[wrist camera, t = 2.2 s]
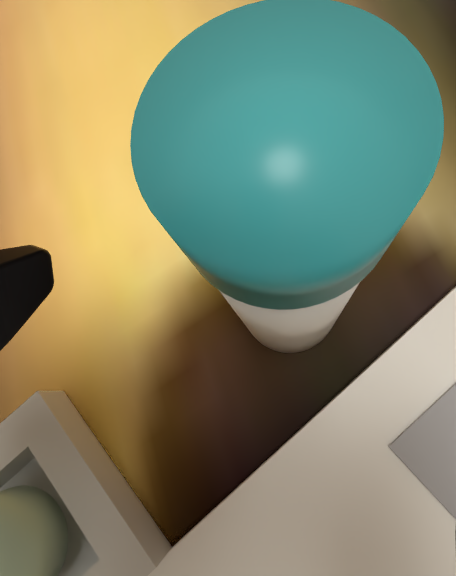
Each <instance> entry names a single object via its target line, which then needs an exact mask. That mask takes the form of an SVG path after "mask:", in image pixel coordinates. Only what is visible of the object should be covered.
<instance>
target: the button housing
mask: <svg viewBox="0 0 456 576" xmlns="http://www.w3.org/2000/svg"><path fill="white" fill-rule="evenodd" d="M21 485H27V486H33V487H37V488H39V489H42V490H43V491H45V492H47V493H48V494H49V495H51V496H52V497H53V498H54V500H55V501H56V502H57V503H58V505H59V506H60V508H61V510H62V512H63V514H64V517H65V520H66V523H67V529H68V549H67V554H66V558H65V561H64V564H63V567H62V569H61V571H60V573H59V575H58V576H148V575H149V574H150V573H151V572H152V571H153V570H154V569H155V568H156V567H157V566H158V565H159V563H160V562H161V561H162V560H163V558H164V557H165V556H166V554H167V553H168V552H169V551H170V549H171V548H172V546H171V545H170V543H169V542H168V540H167V539H166V537H165V536H164V535H163V533H162V532H161V530H160V529H159V527H158V526H157V524H156V523H155V522H154V520H153V519H152V517H151V516H150V514H149V513H148V512H147V510H146V509H145V507H144V506H143V504H142V503H141V501H140V500H139V499H138V497H137V496H136V494H135V493H134V491H133V490H132V488H131V487H130V486H129V484H128V483H127V481H126V480H125V478H124V477H123V476H122V474H121V473H120V471H119V470H118V468H117V467H116V465H115V464H114V463H113V461H112V460H111V458H110V457H109V455H108V454H107V452H106V451H105V450H104V448H103V447H102V445H101V444H100V442H99V441H98V440H97V438H96V437H95V435H94V434H93V432H92V431H91V429H90V428H89V427H88V425H87V424H86V422H85V421H84V419H83V418H82V416H81V415H80V414H79V412H78V411H77V409H76V408H75V406H74V405H73V404H72V402H71V401H70V399H69V398H68V396H67V395H66V393H65V392H64V391H37V392H35V393H34V394H33V395H32V396H31V397H30V398H29V399H27V400H26V401H25V402H24V403H23V404H22V405H21V406H20V407H18V408H17V409H16V410H15V411H14V412H13V413H12V414H10V415H9V416H8V417H7V418H6V419H5V420H4V421H3V422H1V423H0V491H2V490H5V489H8V488H11V487H15V486H21Z"/></svg>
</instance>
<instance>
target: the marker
mask: <svg viewBox="0 0 456 576" xmlns="http://www.w3.org/2000/svg"><path fill="white" fill-rule="evenodd" d="M443 133H444V116H443V108H442V101H441V97H440V94H439V90H438V87H437V84H436V81H435V79H434V77H433V75H432V73H431V71H430V68H429V66H428V65H427V63H426V62H425V60H424V59H423V57H422V56H421V54H420V53H419V52H418V50H417V49H416V48H415V47H414V46H413V45H412V44H411V43H410V41H409V40H408V39H407V38H406V37H405V36H404V35H402V34H401V33H400V32H399V31H397V30H396V29H395V28H394V27H393V26H391V25H390V24H388V23H387V22H385V21H383V20H382V19H380V18H378V17H377V16H375V15H373V14H371V13H368V12H366V11H364V10H362V9H360V8H357V7H354V6H351V5H348V4H344V3H341V2H336V1H331V0H264V1H260V2H256V3H252V4H248V5H245V6H242V7H239V8H236V9H233V10H231V11H228V12H226V13H224V14H222V15H220V16H218V17H215V18H213V19H212V20H210V21H208V22H207V23H205V24H203V25H202V26H200V27H198V28H197V29H195V30H194V31H193V32H192V33H190V34H189V35H188V36H186V37H185V38H184V39H182V40H181V41H180V42H179V43H178V44H177V45H176V46H175V47H174V48H173V49H172V50H171V51H170V52H169V53H168V54H167V55H166V56H165V58H164V59H163V60H162V61H161V62H160V64H159V65H158V66H157V68H156V69H155V71H154V72H153V74H152V75H151V77H150V78H149V80H148V82H147V84H146V86H145V88H144V90H143V92H142V94H141V96H140V99H139V102H138V105H137V107H136V110H135V114H134V119H133V124H132V130H131V145H130V146H131V159H132V166H133V170H134V175H135V179H136V182H137V184H138V187H139V190H140V192H141V195H142V197H143V198H144V200H145V202H146V204H147V206H148V207H149V209H150V211H151V212H152V213H153V215H154V216H155V217H156V219H157V220H158V221H159V222H160V224H161V225H162V226H163V227H164V229H165V230H166V231H167V232H168V234H169V235H170V236H171V237H172V239H173V240H174V241H175V242H176V244H177V245H178V246H179V247H180V249H181V250H182V251H183V252H184V254H185V255H186V256H187V257H188V259H189V260H190V261H191V262H192V264H193V265H194V266H195V267H196V269H197V270H198V271H199V272H200V274H201V275H202V276H203V277H204V278H205V279H206V280H207V281H208V282H209V283H210V284H211V285H213V286H214V287H216V288H217V289H218V290H219V291H220V292H221V293H222V295H223V296H224V298H225V299H226V300H227V302H228V303H229V304H230V306H231V307H232V308H233V310H234V311H235V312H236V314H237V315H238V316H239V318H240V319H241V320H242V322H243V323H244V324H245V326H246V327H247V328H248V330H249V331H250V332H251V334H252V335H253V336H254V337H255V338H256V339H257V340H258V341H259V342H260V343H261V344H262V345H264V346H266V347H267V348H269V349H272V350H274V351H277V352H282V353H298V352H302V351H306V350H308V349H310V348H312V347H314V346H316V345H317V344H318V343H320V342H321V341H322V340H323V339H324V338H325V337H326V336H327V334H328V333H329V331H330V330H331V328H332V327H333V325H334V323H335V322H336V320H337V318H338V317H339V315H340V314H341V312H342V310H343V309H344V307H345V305H346V304H347V302H348V300H349V299H350V297H351V296H352V294H353V292H354V291H355V289H356V287H357V286H358V284H359V282H360V281H362V280H363V279H364V278H365V277H366V276H367V275H368V274H369V273H370V272H371V271H372V269H373V268H374V267H375V266H376V264H377V263H378V262H379V260H380V259H381V257H382V256H383V254H384V253H385V251H386V250H387V248H388V247H389V245H390V244H391V242H392V241H393V239H394V238H395V236H396V235H397V233H398V232H399V230H400V229H401V227H402V226H403V224H404V223H405V221H406V220H407V218H408V217H409V215H410V214H411V212H412V211H413V209H414V208H415V206H416V205H417V203H418V202H419V200H420V199H421V197H422V196H423V194H424V192H425V190H426V188H427V187H428V185H429V183H430V181H431V179H432V177H433V175H434V172H435V169H436V166H437V163H438V160H439V158H440V153H441V148H442V142H443Z"/></svg>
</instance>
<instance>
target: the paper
mask: <svg viewBox="0 0 456 576" xmlns="http://www.w3.org/2000/svg"><path fill="white" fill-rule="evenodd" d="M455 529H456V286H455V287H454V288H453V289H452V290H451V291H450V292H449V293H448V294H446V295H445V296H444V297H443V298H442V299H441V300H440V301H439V302H438V303H437V304H436V305H435V306H433V307H432V308H431V309H430V310H429V311H428V312H427V313H426V314H425V315H424V316H423V317H422V318H420V319H419V320H418V321H417V322H416V323H415V324H414V325H413V326H412V327H411V328H410V329H408V330H407V331H406V332H405V333H404V334H403V335H402V336H401V337H400V338H399V339H398V340H397V341H395V342H394V343H393V344H392V345H391V346H390V347H389V348H388V349H387V350H386V351H385V352H384V353H382V354H381V355H380V356H379V357H378V358H377V359H376V360H375V361H374V362H373V363H372V364H370V365H369V366H368V367H367V368H366V369H365V370H364V371H363V372H362V373H361V374H360V375H359V376H357V377H356V378H355V379H354V380H353V381H352V382H351V383H350V384H349V385H348V386H347V387H346V388H344V389H343V390H342V391H341V392H340V393H339V394H338V395H337V396H336V397H335V398H334V399H332V400H331V401H330V402H329V403H328V404H327V405H326V406H325V407H324V408H323V409H322V410H321V411H319V412H318V413H317V414H316V415H315V416H314V417H313V418H312V419H311V420H310V421H309V422H307V423H306V424H305V425H304V426H303V427H302V428H301V429H300V430H299V431H298V432H297V433H296V434H294V435H293V436H292V437H291V438H290V439H289V440H288V441H287V442H286V443H285V444H284V445H283V446H281V447H280V448H279V449H278V450H277V451H276V452H275V453H274V454H273V455H272V456H271V457H269V458H268V459H267V460H266V461H265V462H264V463H263V464H262V465H261V466H260V467H259V468H258V469H256V470H255V471H254V472H253V473H252V474H251V475H250V476H249V477H248V478H247V479H246V480H245V481H243V482H242V483H241V484H240V485H239V486H238V487H237V488H236V489H235V490H234V491H233V492H231V493H230V494H229V495H228V496H227V497H226V498H225V499H224V500H223V501H222V502H221V503H220V504H218V505H217V506H216V507H215V508H214V509H213V510H212V511H211V512H210V513H209V514H208V515H206V516H205V517H204V518H203V519H202V520H201V521H200V522H199V523H198V524H197V525H196V526H195V527H193V528H192V529H191V530H190V531H189V532H188V533H187V534H186V535H185V536H184V537H183V538H182V539H180V540H179V541H178V542H177V543H176V544H175V545H174V546H173V547H172V548H171V549H170V551H169V552H168V553H167V554H166V556H165V557H164V558H163V560H162V561H161V562H160V563H159V565H158V566H157V567H156V568H155V569H154V570H153V571H152V572H151V573H150V574H149V575H148V576H456V541H455Z"/></svg>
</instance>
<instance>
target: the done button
mask: <svg viewBox="0 0 456 576" xmlns="http://www.w3.org/2000/svg"><path fill="white" fill-rule="evenodd" d="M67 549H68V529H67V523H66V520H65V517H64V514H63V512H62V510H61V508H60V506H59V505H58V503H57V502H56V501H55V500H54V498H53V497H52V496H51V495H49V494H48V493H47V492H45V491H43V490H42V489H39V488H37V487H33V486H27V485H21V486H15V487H11V488H8V489H5V490H2V491H0V576H58V575H59V573H60V571H61V569H62V567H63V564H64V561H65V558H66V554H67Z"/></svg>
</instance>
